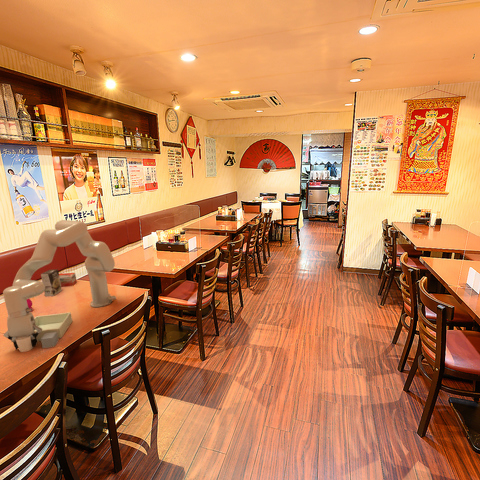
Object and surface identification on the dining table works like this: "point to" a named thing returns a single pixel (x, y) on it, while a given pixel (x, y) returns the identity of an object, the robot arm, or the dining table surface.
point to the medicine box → (67, 279)
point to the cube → (49, 340)
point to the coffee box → (51, 282)
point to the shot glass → (24, 343)
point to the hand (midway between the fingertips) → (26, 346)
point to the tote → (53, 324)
